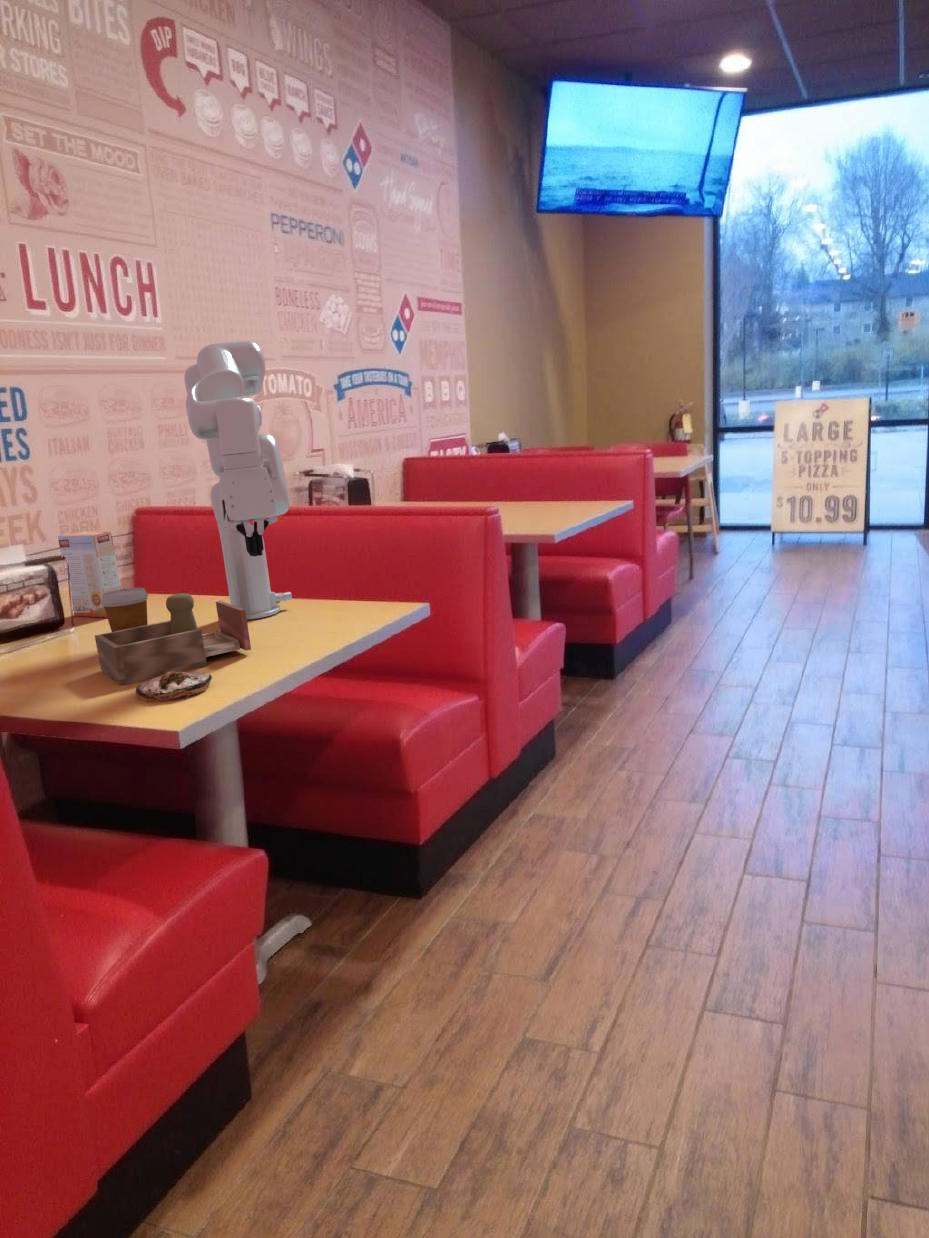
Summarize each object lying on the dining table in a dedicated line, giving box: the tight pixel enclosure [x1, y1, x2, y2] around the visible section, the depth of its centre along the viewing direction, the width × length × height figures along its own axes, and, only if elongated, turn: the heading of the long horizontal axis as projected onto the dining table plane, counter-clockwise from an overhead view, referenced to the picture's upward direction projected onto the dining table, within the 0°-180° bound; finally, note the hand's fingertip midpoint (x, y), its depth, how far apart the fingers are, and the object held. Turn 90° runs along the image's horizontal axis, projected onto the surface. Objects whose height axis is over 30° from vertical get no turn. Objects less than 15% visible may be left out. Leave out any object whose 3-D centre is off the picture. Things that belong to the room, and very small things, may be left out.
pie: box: [135, 671, 213, 703], centre depth 169 cm, size 15×15×4 cm
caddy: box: [94, 619, 208, 686], centre depth 186 cm, size 16×15×7 cm
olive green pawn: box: [165, 592, 199, 635], centre depth 189 cm, size 6×6×11 cm
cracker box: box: [57, 531, 122, 619], centre depth 245 cm, size 14×6×21 cm, turn 58°
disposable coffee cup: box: [100, 587, 149, 632], centre depth 205 cm, size 10×10×12 cm
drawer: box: [202, 600, 252, 658], centre depth 191 cm, size 16×14×8 cm
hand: (256, 555), depth 195 cm, fingers closed
